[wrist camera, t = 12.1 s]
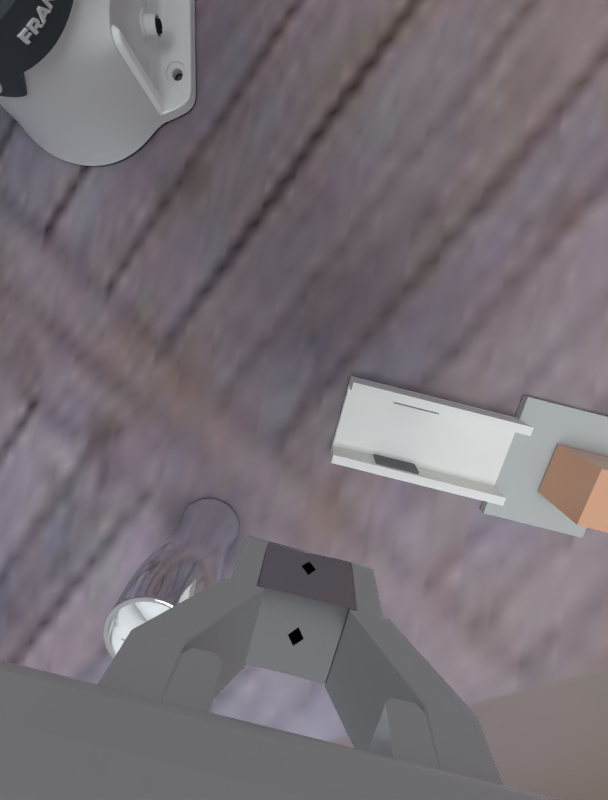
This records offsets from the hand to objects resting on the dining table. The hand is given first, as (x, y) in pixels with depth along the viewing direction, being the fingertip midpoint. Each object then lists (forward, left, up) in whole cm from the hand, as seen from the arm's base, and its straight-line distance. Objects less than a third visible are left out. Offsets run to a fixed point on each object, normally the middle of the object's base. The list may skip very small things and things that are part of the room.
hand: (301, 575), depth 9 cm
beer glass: (+18, -7, -29) cm, 35 cm away
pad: (+3, +24, -29) cm, 38 cm away
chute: (+3, +11, -29) cm, 31 cm away
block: (+3, +26, -28) cm, 38 cm away
